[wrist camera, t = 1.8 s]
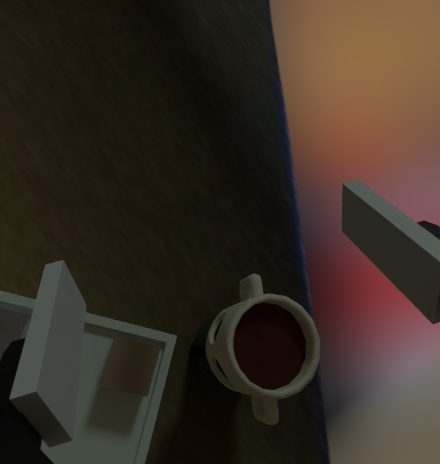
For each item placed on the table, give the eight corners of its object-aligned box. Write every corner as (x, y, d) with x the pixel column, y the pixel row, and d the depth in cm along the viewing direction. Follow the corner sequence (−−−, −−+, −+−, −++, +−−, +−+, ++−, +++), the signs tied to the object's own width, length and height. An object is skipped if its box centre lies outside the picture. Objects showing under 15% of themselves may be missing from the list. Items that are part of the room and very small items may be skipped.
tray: (-133, 529, 27) (-146, 538, 25) (-20, 287, 33) (-26, 284, 32) (116, 562, 30) (117, 572, 29) (174, 336, 37) (177, 335, 35)
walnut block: (99, 383, 33) (99, 386, 30) (113, 338, 34) (114, 336, 32) (144, 393, 34) (147, 396, 31) (156, 348, 35) (160, 347, 32)
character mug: (183, 296, 38) (218, 268, 26) (248, 292, 40) (308, 265, 29) (191, 413, 35) (235, 441, 23) (261, 402, 37) (334, 423, 25)
